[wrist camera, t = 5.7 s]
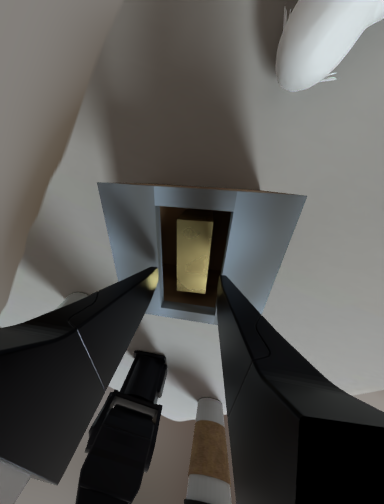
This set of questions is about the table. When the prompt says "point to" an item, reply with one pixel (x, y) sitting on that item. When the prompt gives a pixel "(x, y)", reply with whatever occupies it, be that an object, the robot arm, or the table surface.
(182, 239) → the block
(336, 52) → the white animal skull
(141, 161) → the table surface
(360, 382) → the table surface
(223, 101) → the table surface
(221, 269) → the box
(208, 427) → the coffee cup
